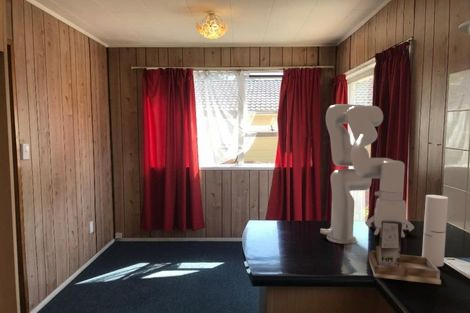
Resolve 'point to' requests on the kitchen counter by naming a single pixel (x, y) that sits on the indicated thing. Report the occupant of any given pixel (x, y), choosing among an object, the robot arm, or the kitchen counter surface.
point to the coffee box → (389, 244)
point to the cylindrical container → (435, 228)
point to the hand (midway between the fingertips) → (387, 245)
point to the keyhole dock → (407, 269)
